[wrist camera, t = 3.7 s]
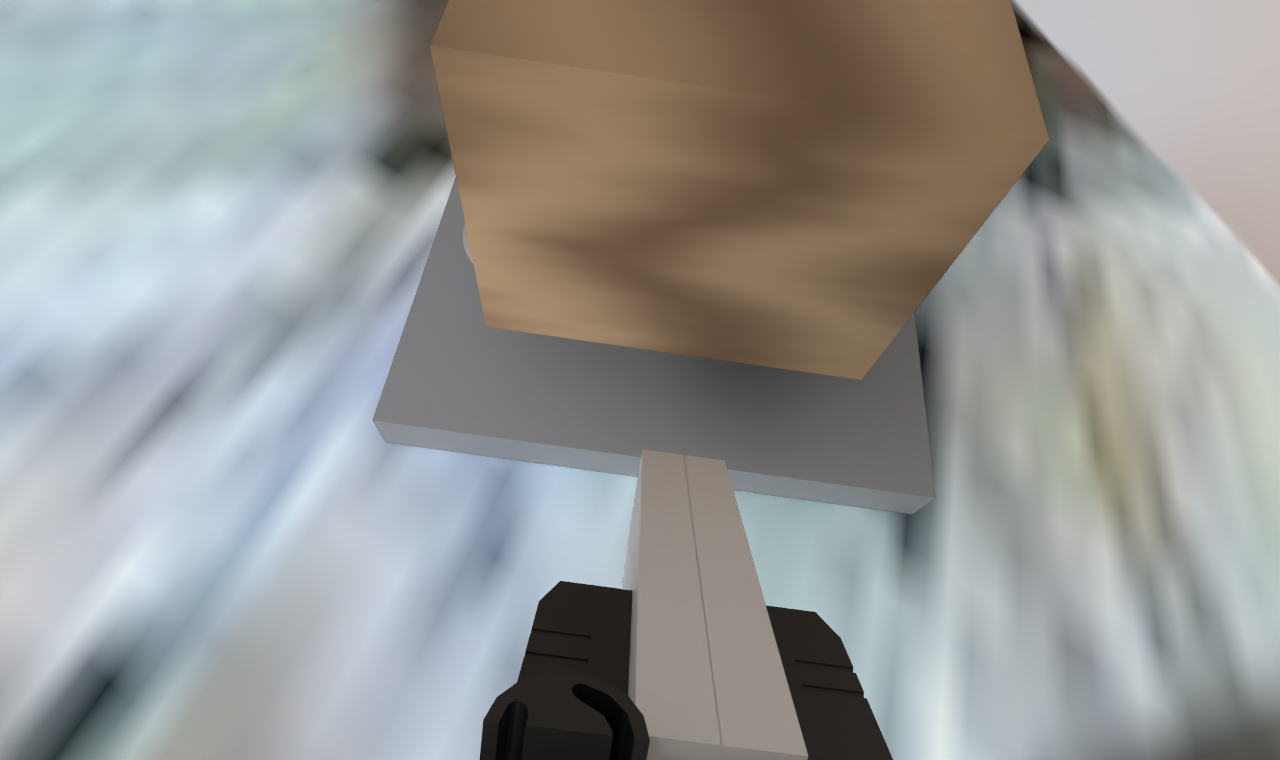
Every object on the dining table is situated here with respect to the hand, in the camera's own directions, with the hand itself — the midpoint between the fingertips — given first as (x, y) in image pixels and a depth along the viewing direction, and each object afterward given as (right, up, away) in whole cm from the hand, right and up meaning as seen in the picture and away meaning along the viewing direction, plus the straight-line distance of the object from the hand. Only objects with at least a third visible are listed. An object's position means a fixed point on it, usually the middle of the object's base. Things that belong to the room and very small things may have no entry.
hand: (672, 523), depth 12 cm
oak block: (+1, +7, +10) cm, 13 cm away
